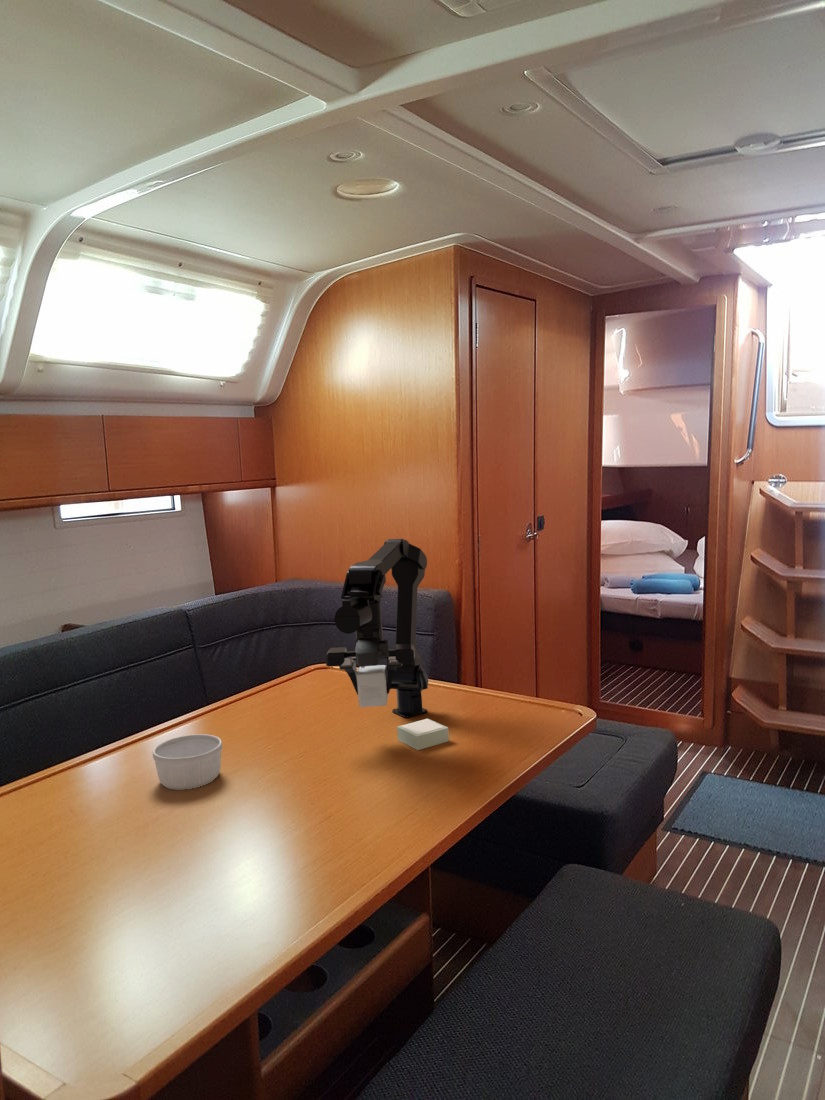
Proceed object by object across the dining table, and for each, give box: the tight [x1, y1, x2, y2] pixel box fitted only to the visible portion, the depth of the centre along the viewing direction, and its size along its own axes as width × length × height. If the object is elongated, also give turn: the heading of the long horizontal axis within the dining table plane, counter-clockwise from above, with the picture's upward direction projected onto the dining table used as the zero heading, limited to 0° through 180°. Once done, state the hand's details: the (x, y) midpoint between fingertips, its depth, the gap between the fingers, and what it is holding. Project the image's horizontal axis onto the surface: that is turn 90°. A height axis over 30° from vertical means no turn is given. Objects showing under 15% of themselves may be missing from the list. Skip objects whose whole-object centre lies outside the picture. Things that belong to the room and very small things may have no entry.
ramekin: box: [152, 733, 223, 791], centre depth 151 cm, size 13×13×7 cm
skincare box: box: [357, 664, 389, 708], centre depth 165 cm, size 6×6×7 cm
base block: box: [396, 718, 450, 751], centre depth 165 cm, size 8×8×3 cm
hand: (373, 693), depth 165 cm, fingers closed on skincare box, 6 cm apart
